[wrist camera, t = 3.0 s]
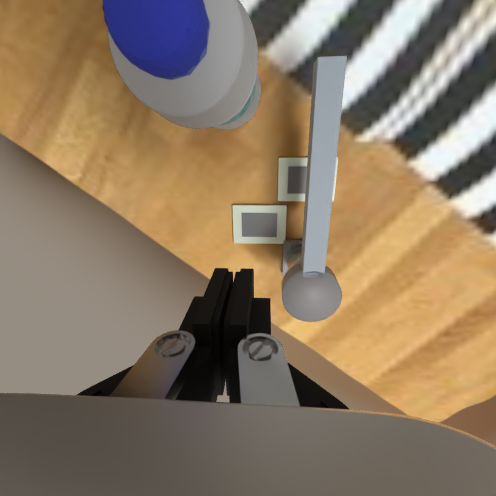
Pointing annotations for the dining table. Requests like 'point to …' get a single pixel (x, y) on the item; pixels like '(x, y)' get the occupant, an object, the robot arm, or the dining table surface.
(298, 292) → the bar
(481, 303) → the dining table surface
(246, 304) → the robot arm
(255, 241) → the label tile
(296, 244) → the post
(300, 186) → the label tile
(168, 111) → the bottle
